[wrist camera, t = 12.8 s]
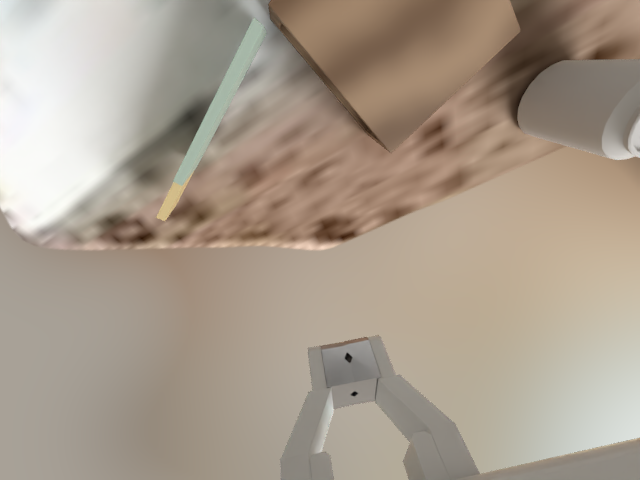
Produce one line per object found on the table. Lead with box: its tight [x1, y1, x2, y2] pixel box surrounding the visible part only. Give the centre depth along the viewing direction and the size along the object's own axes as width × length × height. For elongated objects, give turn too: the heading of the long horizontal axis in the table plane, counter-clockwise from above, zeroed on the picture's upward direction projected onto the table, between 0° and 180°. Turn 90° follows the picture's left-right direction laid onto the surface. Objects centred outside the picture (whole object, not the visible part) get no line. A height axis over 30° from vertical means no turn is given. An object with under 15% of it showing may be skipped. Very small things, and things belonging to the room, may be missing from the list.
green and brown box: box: [268, 0, 521, 153], centre depth 21 cm, size 14×12×7 cm
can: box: [517, 59, 640, 160], centre depth 25 cm, size 8×8×12 cm
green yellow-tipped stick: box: [156, 18, 267, 221], centre depth 24 cm, size 19×1×5 cm, turn 143°
